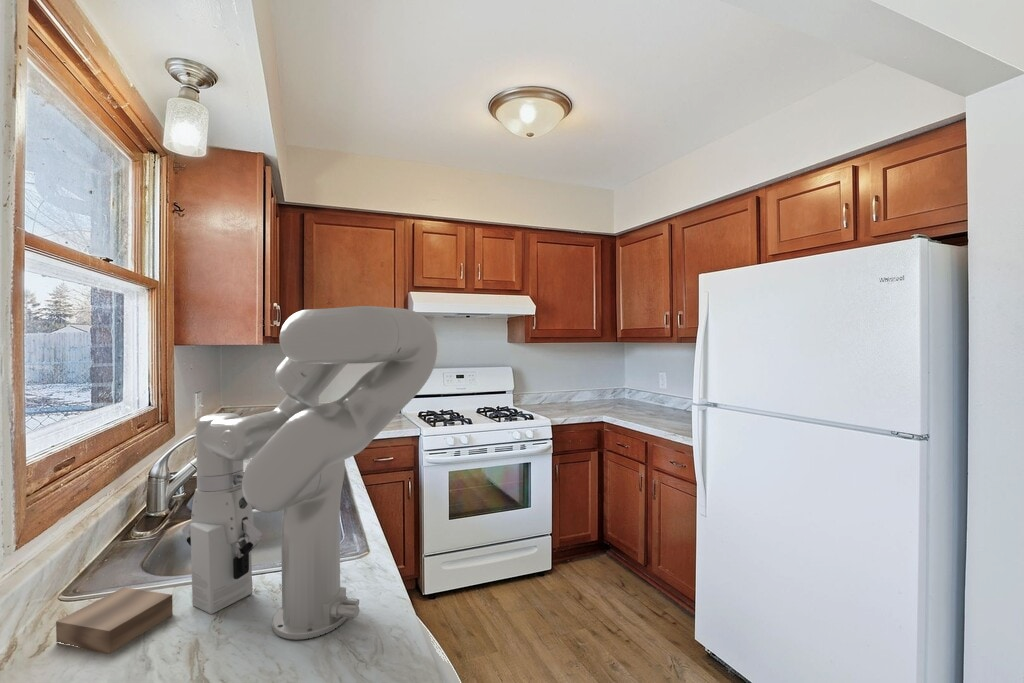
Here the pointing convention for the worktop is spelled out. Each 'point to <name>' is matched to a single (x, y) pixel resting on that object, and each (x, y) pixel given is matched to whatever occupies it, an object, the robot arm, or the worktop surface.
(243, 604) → the worktop surface
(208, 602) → the skincare box
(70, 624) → the walnut block
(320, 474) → the robot arm
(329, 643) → the worktop surface
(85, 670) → the worktop surface
